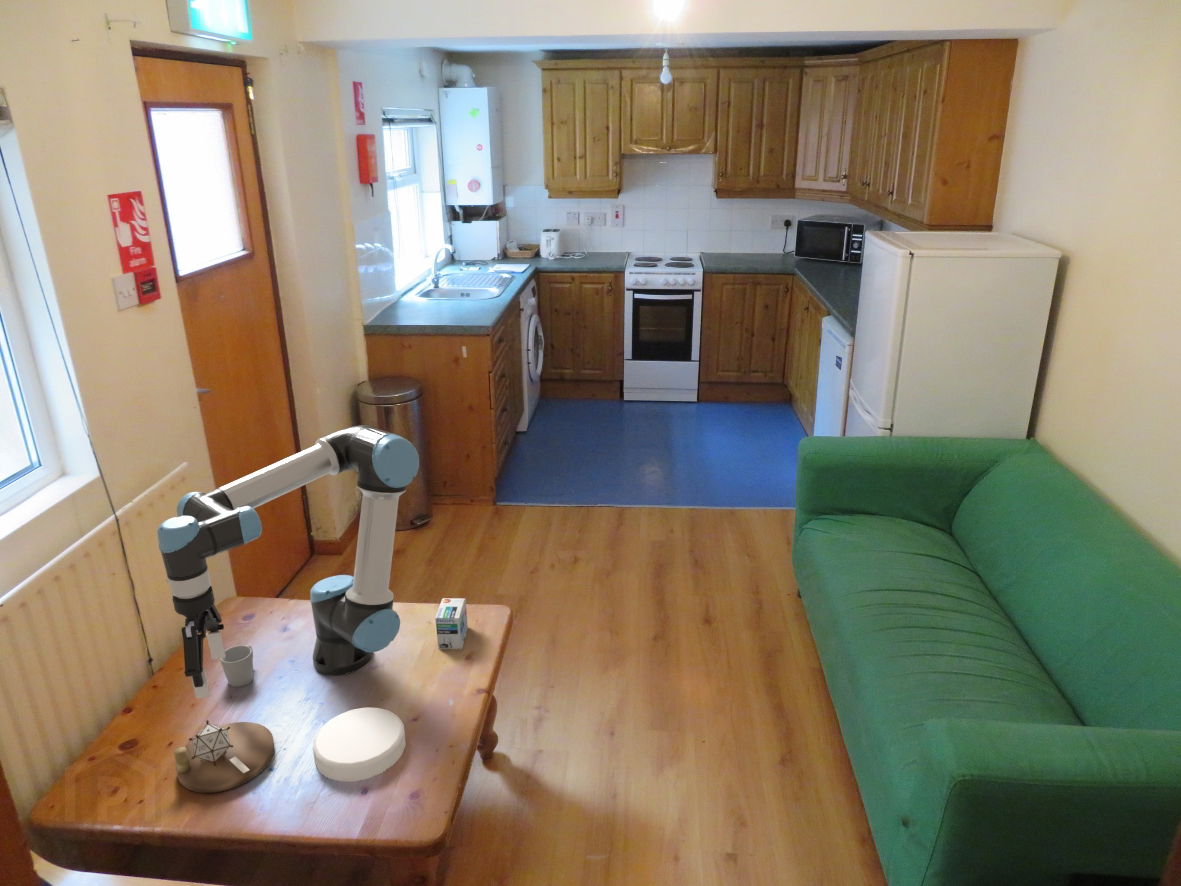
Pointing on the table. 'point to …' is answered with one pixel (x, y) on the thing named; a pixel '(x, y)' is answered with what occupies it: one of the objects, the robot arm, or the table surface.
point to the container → (359, 744)
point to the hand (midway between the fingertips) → (211, 676)
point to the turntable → (227, 760)
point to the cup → (238, 665)
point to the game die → (211, 743)
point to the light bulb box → (451, 623)
